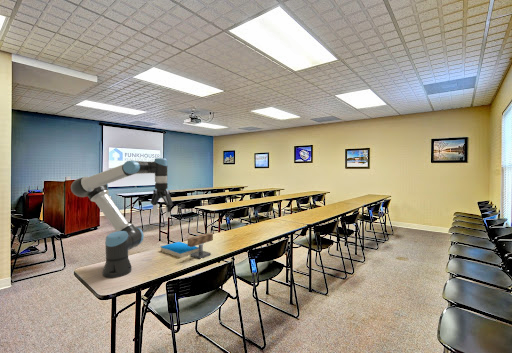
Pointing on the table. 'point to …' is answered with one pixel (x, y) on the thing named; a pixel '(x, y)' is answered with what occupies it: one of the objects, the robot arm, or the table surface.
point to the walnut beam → (200, 239)
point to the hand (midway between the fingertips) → (161, 216)
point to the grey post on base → (200, 253)
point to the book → (179, 249)
